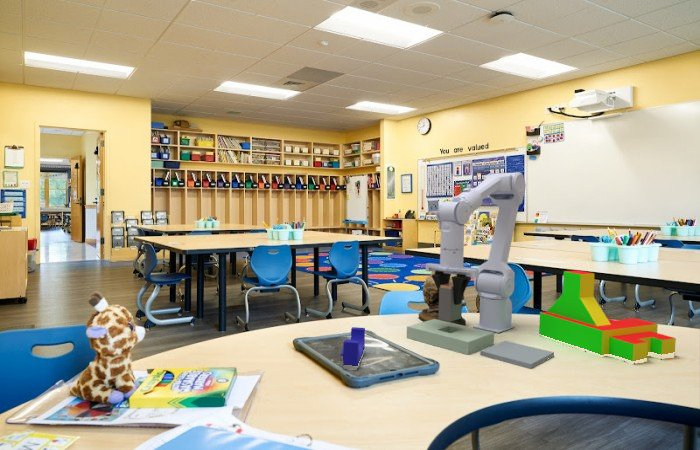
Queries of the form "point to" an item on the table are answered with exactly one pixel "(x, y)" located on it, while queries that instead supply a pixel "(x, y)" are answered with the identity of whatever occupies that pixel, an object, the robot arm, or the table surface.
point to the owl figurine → (435, 302)
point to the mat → (517, 354)
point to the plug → (448, 304)
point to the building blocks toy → (599, 324)
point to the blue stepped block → (354, 347)
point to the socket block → (451, 336)
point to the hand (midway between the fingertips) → (450, 302)
